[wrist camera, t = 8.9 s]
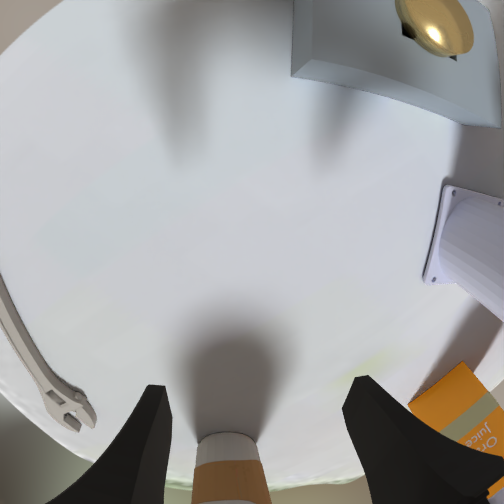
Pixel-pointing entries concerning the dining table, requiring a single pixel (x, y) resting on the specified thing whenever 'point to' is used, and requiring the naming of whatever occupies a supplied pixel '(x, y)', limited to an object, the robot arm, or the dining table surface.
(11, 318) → the adjustable wrench
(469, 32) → the brass door knob
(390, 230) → the dining table surface
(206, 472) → the coffee cup
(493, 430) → the orange juice
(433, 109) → the block
